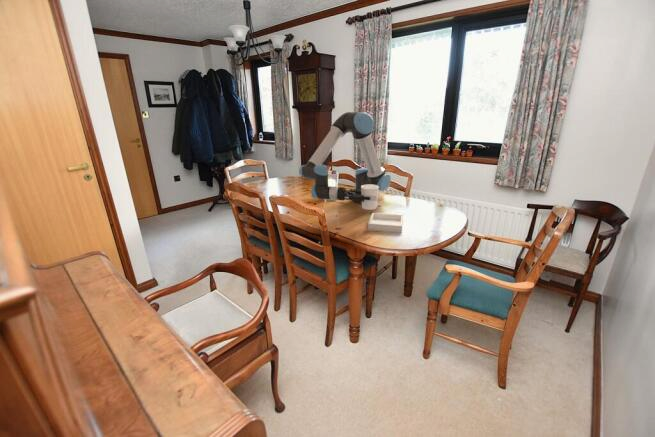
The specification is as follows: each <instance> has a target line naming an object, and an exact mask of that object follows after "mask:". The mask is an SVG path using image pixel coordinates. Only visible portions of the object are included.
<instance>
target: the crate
mask: <svg viewBox="0 0 655 437" xmlns="http://www.w3.org/2000/svg"><path fill="white" fill-rule="evenodd" d="M403 224H404V214H400V213H398V214H397V213H387V212H386V213H383V212H382V213H381V212H372V213H371V215H370V217H369V220H368V223H367V231H371V232H373V231H374V232H382V233H383V232H385V233H398V234H399V233H400V234H402V232H403Z"/></svg>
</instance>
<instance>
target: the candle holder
mask: <svg viewBox="0 0 655 437" xmlns="http://www.w3.org/2000/svg"><path fill="white" fill-rule="evenodd" d="M378 190H379V186H377V185H373V184H367V185H362V186H361V195H363V196H364V195H372V196H377V201H368V200H364V202H362V203H361V208H362V209H363V210H368V211H369V210H370V211H371V210H376V209H377V208H378V199H379V196H378Z"/></svg>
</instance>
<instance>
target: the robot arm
mask: <svg viewBox="0 0 655 437" xmlns="http://www.w3.org/2000/svg"><path fill="white" fill-rule="evenodd" d="M373 129H374V119H373V117H372V116H371V115H370V114H369V113H367V112H364V111H359V112H357V111H354V112H353V111H352V112H350V111H347V112H344V113H343V114H341V115H340V116H338V118H337V119H336V120H334V122H333V124H332V125H331V126H330V130H329V132H328V133H327V134H326V136H325V137H324V139H323V140H322V141H321V143H320V144H319V145H318V148H317V149H316V150H315V152H314V153H312V155H311V157H310V158H309V159H308V161H307V163H306V164H302V165H301V166H300V167H299V169H298V174H299V176H300V177H302V178H304V179H308V180H311V181H314V185H313V186H311V188H310V189H311V191H310V194H311V197H312V198H313V199H316V200H329V201H331V200H332V201H352V202H354V203H357V204H362V202H364V200H368V201H377V196H372V195H364V196H363V195H361V186H362V185H367V184H373V185H377V186H379V190H378V197H380V192H384V191H386V190H387V189H388V188H389V186H390V185H391V181H392V180H391V178H392V177H391V175H390V174H388V173H386V171H385V168H384V167H383V166H381V163H380V160H379V158H378V154H377V150H376V147H375V145H374V141H373V139H372V133H373ZM347 133H351V135H352V137H353V139H354V140H356V141H357V144H358V147H359V149H360V152H361V155H362V158H363V161H364V164H365V166H366V167H361V168H357V169H355V174H354V175H355V181H354V183H355V187H354V188H350V189H348V190H347V188H346V187H344V186H329V169H328V166H327V165H325V164H323V163H324V162H325V161H326V159H327V158H328V156H329V154H330V153H331V152H332V150H333V149H334V148H335V147H336V145H337V143H338V142H339V141H340V139H341V138H343V137H345V135H346V134H347ZM377 202H378V201H377Z"/></svg>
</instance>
